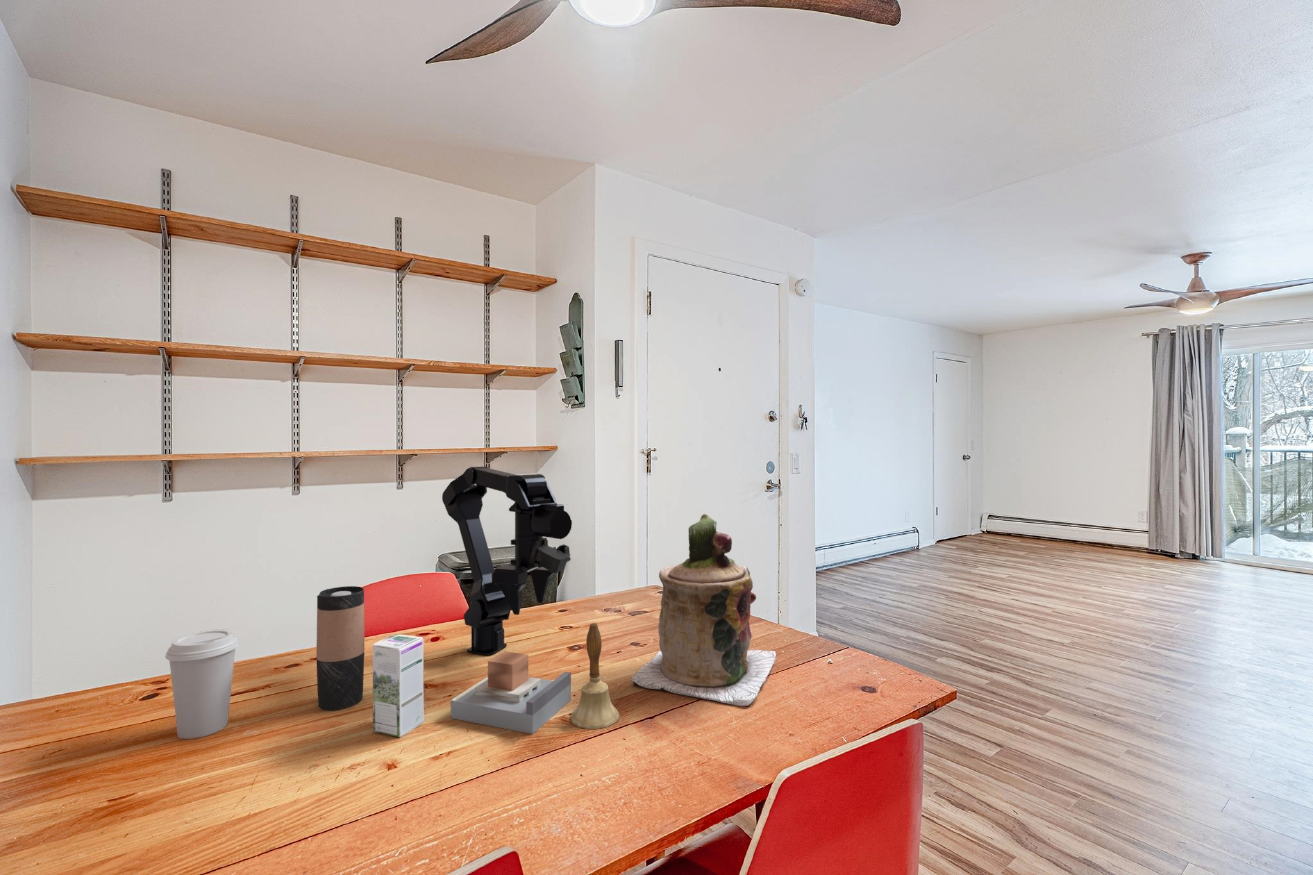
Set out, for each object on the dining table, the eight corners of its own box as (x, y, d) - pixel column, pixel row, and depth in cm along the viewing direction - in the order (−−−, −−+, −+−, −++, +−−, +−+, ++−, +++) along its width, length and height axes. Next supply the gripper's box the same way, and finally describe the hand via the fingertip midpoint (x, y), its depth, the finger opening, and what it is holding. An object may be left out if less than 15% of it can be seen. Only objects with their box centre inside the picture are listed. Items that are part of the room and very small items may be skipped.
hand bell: (592, 734, 93) (592, 635, 93) (560, 718, 99) (560, 624, 99) (629, 716, 99) (629, 623, 99) (597, 701, 105) (597, 613, 105)
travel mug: (373, 697, 107) (374, 588, 107) (335, 715, 100) (335, 598, 100) (345, 689, 110) (345, 584, 110) (306, 706, 103) (306, 593, 103)
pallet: (474, 695, 101) (474, 661, 101) (498, 679, 107) (498, 648, 107) (519, 702, 98) (519, 668, 98) (541, 686, 104) (541, 653, 104)
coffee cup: (156, 749, 89) (157, 651, 89) (174, 722, 97) (174, 633, 97) (233, 734, 93) (233, 641, 93) (243, 710, 102) (243, 624, 102)
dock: (450, 718, 99) (450, 688, 99) (496, 687, 111) (496, 661, 111) (532, 733, 93) (532, 702, 93) (570, 699, 106) (570, 672, 106)
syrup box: (425, 722, 97) (425, 635, 97) (399, 739, 92) (399, 647, 92) (398, 716, 99) (398, 631, 99) (370, 733, 94) (371, 643, 94)
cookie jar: (626, 687, 111) (626, 520, 111) (671, 645, 134) (671, 507, 134) (754, 710, 102) (753, 527, 102) (779, 660, 125) (778, 511, 125)
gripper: (539, 543, 110) (539, 625, 110) (583, 529, 128) (583, 600, 128) (489, 540, 114) (489, 619, 114) (539, 527, 132) (539, 595, 132)
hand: (528, 608), depth 122 cm, fingers open, 9 cm apart
